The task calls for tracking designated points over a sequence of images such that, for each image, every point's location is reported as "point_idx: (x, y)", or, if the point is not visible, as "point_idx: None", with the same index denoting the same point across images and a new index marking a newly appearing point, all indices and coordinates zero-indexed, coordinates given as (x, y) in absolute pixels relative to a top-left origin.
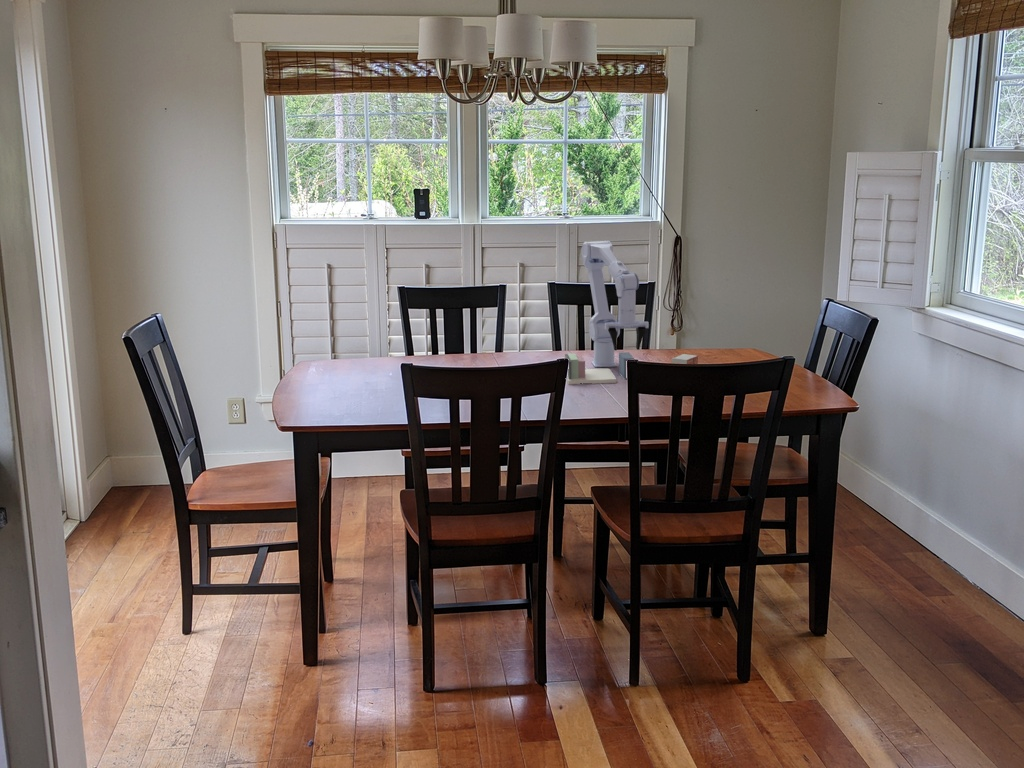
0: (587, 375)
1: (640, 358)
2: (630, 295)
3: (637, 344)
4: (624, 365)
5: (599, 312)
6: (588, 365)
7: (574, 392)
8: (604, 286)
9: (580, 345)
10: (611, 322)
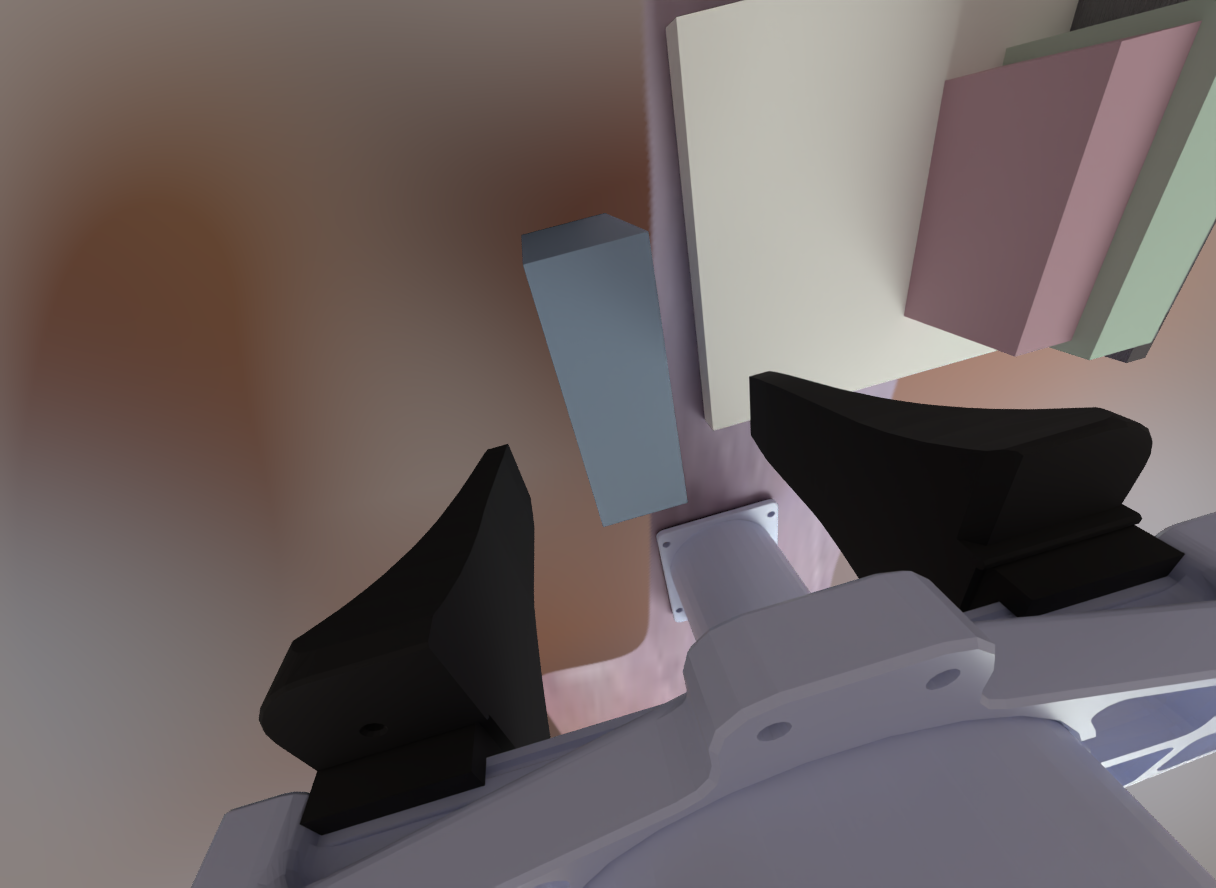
0: (901, 182)
1: (548, 679)
2: None
3: (507, 490)
4: (623, 226)
5: None
6: (795, 532)
7: None
8: None
9: None
10: (1163, 770)
